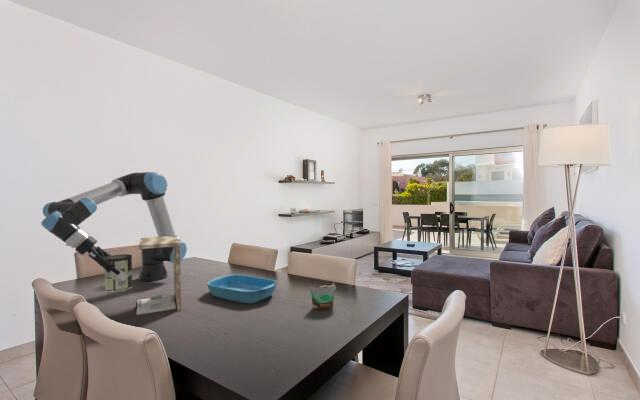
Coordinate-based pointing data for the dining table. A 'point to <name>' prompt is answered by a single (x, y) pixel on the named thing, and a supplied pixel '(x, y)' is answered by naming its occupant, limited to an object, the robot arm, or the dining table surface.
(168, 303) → the seat plate
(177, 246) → the shelf hood
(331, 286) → the food container
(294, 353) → the dining table surface
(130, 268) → the coffee can
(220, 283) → the casserole dish
